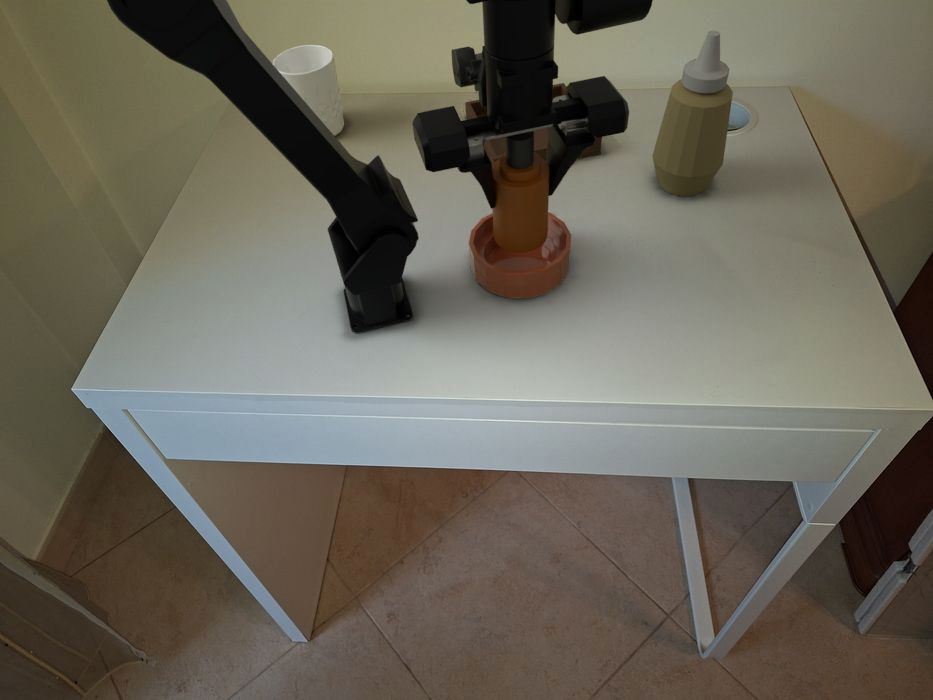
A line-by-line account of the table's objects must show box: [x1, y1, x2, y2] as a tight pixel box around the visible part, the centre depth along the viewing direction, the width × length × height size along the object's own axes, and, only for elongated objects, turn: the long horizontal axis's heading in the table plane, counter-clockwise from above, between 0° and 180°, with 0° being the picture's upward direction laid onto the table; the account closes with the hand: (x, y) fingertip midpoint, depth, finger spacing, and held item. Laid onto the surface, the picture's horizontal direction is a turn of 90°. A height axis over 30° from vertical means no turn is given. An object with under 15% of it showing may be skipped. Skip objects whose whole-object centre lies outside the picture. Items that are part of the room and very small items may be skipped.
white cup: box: [272, 44, 345, 137], centre depth 91 cm, size 8×8×10 cm
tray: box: [464, 82, 603, 166], centre depth 89 cm, size 14×14×2 cm
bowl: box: [468, 211, 572, 299], centre depth 72 cm, size 11×11×4 cm
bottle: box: [491, 131, 550, 253], centre depth 66 cm, size 6×6×12 cm
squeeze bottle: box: [652, 30, 734, 197], centre depth 75 cm, size 8×8×18 cm
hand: (520, 199), depth 67 cm, fingers closed on bottle, 5 cm apart
